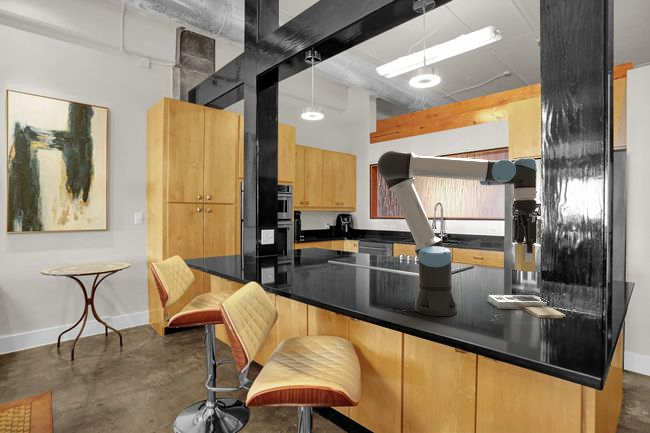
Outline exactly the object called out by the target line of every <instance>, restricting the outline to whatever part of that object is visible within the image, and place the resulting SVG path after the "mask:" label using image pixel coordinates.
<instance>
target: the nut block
mask: <svg viewBox="0 0 650 433" xmlns="http://www.w3.org/2000/svg"><path fill="white" fill-rule="evenodd" d="M514 270H516V271H519V272H524V273H525V272H531V273H532V272H534V273H535V272H536V244H533V262H524V244H517V243H514Z"/></svg>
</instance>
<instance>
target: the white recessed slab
mask: <svg viewBox="0 0 650 433" xmlns="http://www.w3.org/2000/svg"><path fill="white" fill-rule="evenodd" d="M540 298H541V297H540V296H537V295H533V294H532V295H530V294H529V295H528V294H527V295H523V294H522V295H521V294H518V295H516V294H510V295H509V294H495V295H494V294H488V295H487V302H489V304H491V305H492V306H494V307H496V308H497V309H498V310H499V309H501V310H505V309H509V310H510V309H511V310H514V309H515V310H524V307H542V306H544V305H546V304H547V302H543V301H541V299H540Z"/></svg>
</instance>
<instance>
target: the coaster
mask: <svg viewBox="0 0 650 433" xmlns="http://www.w3.org/2000/svg"><path fill="white" fill-rule="evenodd" d="M550 307H551V306H550ZM550 307H524V309H523V310H524V311H525V312H527V313H528V314H530V315H532V316H534V317H535V318H537V319H538V318H539V319H564V318H563V317H566V318H567V316H566V314H565V313H563V312H561V311H559V310H557V309H554V308H553V307H551V308H550Z"/></svg>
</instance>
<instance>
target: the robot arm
mask: <svg viewBox="0 0 650 433" xmlns="http://www.w3.org/2000/svg"><path fill="white" fill-rule="evenodd" d="M376 169H377V171H378V173H379V175H380V176H381V177H382V178H383V180H384V181H385V185H386V186H387V190H388V191H389V192H390V191H391V192H393V194H394V195H395V196H394V197H395V198H396V201H397V202H398V206H399V207H400V210H401V212H402V215H403V217H404V220H405V222H406V224H407V226H408V228H409V231H410V233H411V236H412V238H413V240H414V243H415V246H414V253H415V255H416V257H417V259H418V292H417V295H416V298H415V302H414V311H416V312H417V313H419V314H422V315H425V316H433V317H448V316H449V317H450V316H454V315H456V314H457V313H458V305H457V303H456V299H455V297H454V294H453V289H452V286H453V284H452V283H453V282H452V278H453V277H452V275H453V274H452V260H453V255H452V252H451V250H450V249H449V248H447V247H445V245H444V243H443V241H442V239H441V238H440V237H437V236H436V234H435V232H434V230H433V227H432V225H431V223H430V220H429V218H428V215H427V214H426V211H425V209H424V206H423V204H422V201H421V200H420V197H419V195H418V193H417V191H416V188H415V185H414V182H415V177H426V178H427V177H428V178H438V179H439V178H440V179H452V180H466V181H479V185H481V186H501V185H505V186H506V185H513V189H512V190H513V195H512V196H513V199H514V200H513V210H514V211H517V214H516V215H513V240H514V241H515V242H516V244H524V262H533V245H535V244H537V241H538V240H537V238H538V237H537V235H538V233H537V229H538V228H537V222H538V216H536V215H534V214H533V211H536V210H537V200H536V199H537V193H538V191H537V172H538V169H537V161H536V159H535V158H531V157H529V158H528V157H527V158H525V157H524V158H517V159H515V160H514V161H511V160H510V159H500V160H491V159H490V160H487V159H478V158H477V159H476V158H475V159H474V158H457V157H441V156H426V155H424V156H423V155H415V153H414V152H405V151H398V150H389V151H386V152H383V154H382V155H381V156H380V157H379V159H378V161H377V168H376Z"/></svg>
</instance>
